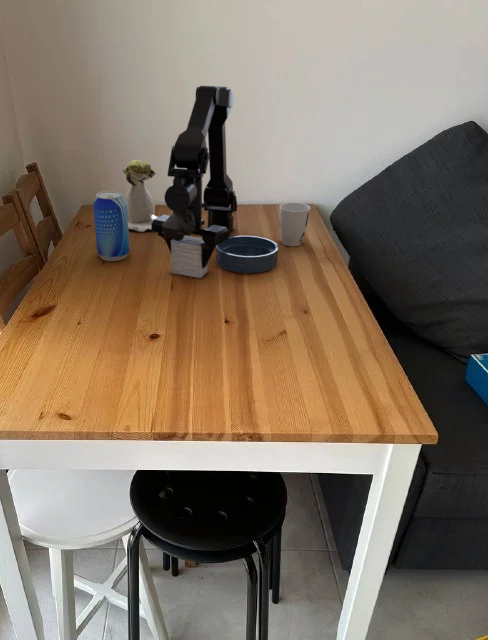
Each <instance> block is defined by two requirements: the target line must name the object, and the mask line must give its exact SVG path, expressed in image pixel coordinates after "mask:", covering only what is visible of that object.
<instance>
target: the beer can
mask: <svg viewBox="0 0 488 640" xmlns="http://www.w3.org/2000/svg"><path fill="white" fill-rule="evenodd" d="M95 196H96V197H95V199H94V201H93V204H92V205H93V214H94V215H93V218H94V229H95V239H96V251H97V255H99V257H100V259H102V260H104V261H108V262H117V261H122V260H125V259H126V258H128V255H129V253H130V251H131V250H130V234H129V229H128V212H127V202H126V200H125V199H126V198H125V197H124V194H123V192H122V191H119V190H104V191H98V192H97V193H96V195H95Z"/></svg>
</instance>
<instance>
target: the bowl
mask: <svg viewBox="0 0 488 640" xmlns="http://www.w3.org/2000/svg"><path fill="white" fill-rule="evenodd" d="M279 249H280V246H279V244H278V243H277V242H275V241H273V240H272V239H269V238H266V237H262V236H255V235H234V236H229V239H228V240H226V241H224V242H222V243H221V244H219V245H216V247H215V261H216V264H217V265H218V266H219V267H221V268H223V269H224V270H226V271H229V272H232V273H237V274H258V273H265V272H266V271H269V270H272V269H274V268H275V267H276V266H277V264H278V261H279V259H278V258H279Z"/></svg>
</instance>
